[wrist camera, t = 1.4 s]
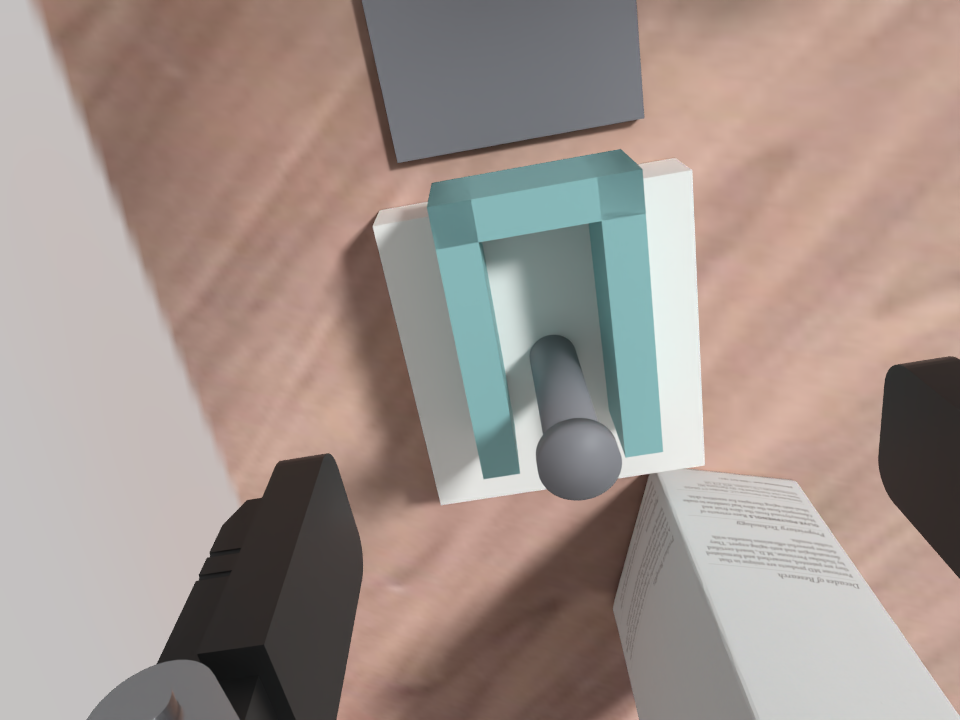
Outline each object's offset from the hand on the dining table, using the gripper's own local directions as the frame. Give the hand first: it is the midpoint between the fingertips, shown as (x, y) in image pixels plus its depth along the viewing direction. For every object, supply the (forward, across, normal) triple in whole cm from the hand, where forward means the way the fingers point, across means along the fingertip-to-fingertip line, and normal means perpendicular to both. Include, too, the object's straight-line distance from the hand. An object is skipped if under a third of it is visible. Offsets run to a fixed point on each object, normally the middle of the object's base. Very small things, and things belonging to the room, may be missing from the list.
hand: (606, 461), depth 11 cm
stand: (+15, 0, +5) cm, 16 cm away
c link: (+13, 0, +3) cm, 14 cm away
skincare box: (+16, -5, +16) cm, 23 cm away
